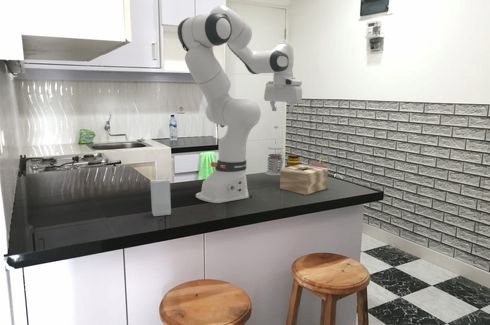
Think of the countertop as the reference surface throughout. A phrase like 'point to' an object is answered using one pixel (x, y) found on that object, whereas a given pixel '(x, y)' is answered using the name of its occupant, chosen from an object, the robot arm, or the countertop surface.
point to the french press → (274, 160)
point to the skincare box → (160, 197)
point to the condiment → (292, 160)
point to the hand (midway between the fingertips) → (281, 111)
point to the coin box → (303, 179)
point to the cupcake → (319, 163)
